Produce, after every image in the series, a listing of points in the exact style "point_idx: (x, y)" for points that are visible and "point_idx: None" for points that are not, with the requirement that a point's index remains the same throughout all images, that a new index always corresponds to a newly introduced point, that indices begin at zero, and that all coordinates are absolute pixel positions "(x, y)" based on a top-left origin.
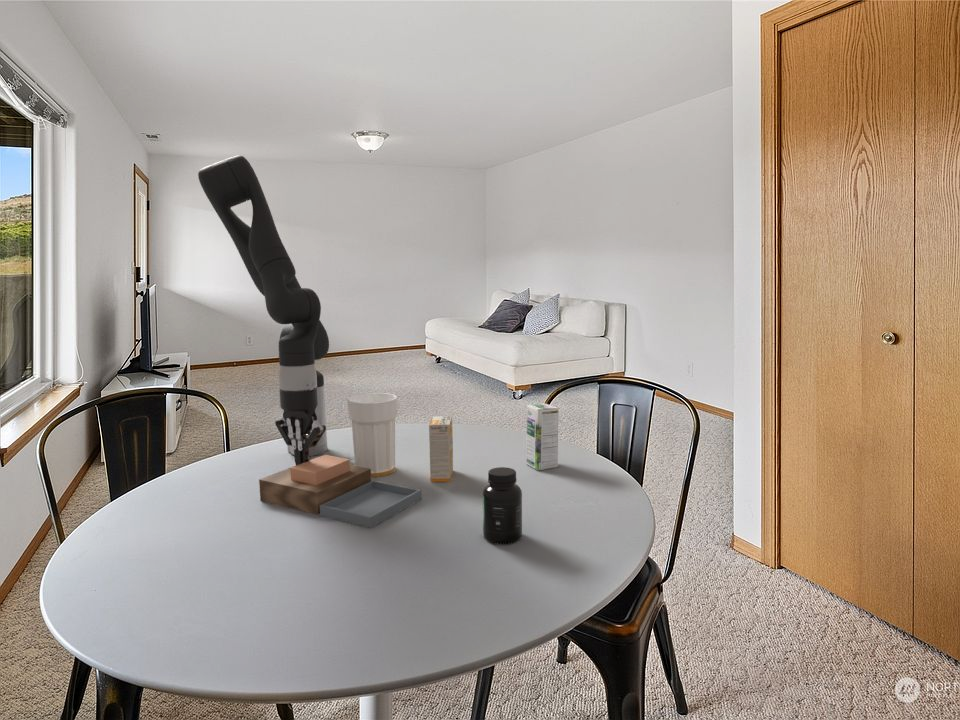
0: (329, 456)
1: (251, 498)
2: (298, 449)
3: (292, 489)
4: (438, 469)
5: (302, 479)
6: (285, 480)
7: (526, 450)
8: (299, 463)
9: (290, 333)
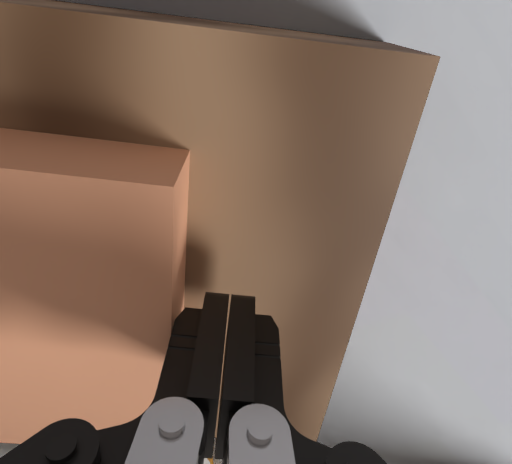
0: None
1: (460, 51)
2: (196, 408)
3: (49, 6)
4: None
5: (53, 141)
6: (213, 118)
7: None
8: (213, 308)
9: None
